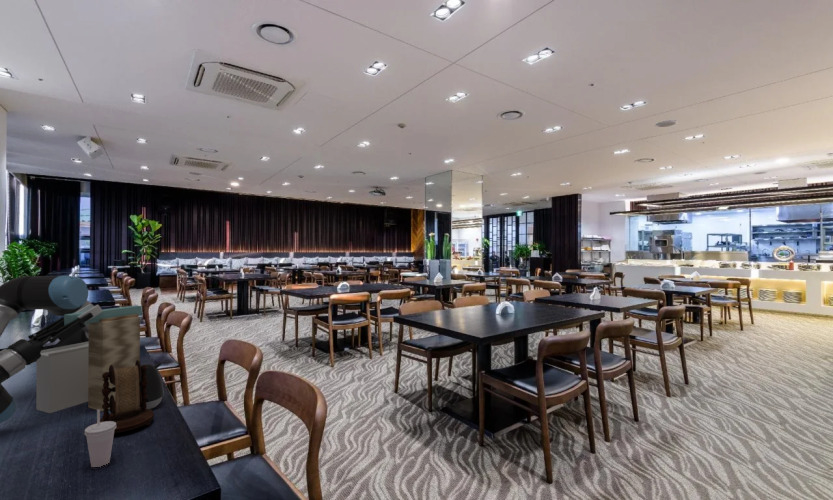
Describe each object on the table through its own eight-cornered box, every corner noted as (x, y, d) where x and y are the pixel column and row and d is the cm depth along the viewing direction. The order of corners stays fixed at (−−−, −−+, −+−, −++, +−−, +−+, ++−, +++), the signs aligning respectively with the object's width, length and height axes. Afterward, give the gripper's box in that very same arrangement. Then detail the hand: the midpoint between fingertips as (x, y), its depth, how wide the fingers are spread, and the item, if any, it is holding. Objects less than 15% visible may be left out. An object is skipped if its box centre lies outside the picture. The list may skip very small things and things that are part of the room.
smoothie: (96, 457, 102) (96, 404, 102) (122, 456, 103) (122, 404, 103) (77, 471, 96) (77, 415, 96) (104, 470, 97) (105, 414, 96)
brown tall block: (102, 411, 131) (102, 319, 130) (88, 407, 134) (88, 317, 133) (139, 398, 142) (140, 314, 141) (125, 395, 145) (126, 312, 145)
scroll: (100, 444, 109) (100, 373, 109) (89, 427, 119) (89, 362, 119) (160, 426, 121) (160, 362, 121) (146, 412, 130) (146, 353, 130)
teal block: (70, 326, 124) (70, 315, 124) (64, 325, 125) (64, 314, 125) (141, 315, 144) (141, 305, 144) (135, 314, 146) (135, 305, 146)
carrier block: (49, 413, 129) (49, 354, 128) (36, 409, 132) (36, 351, 132) (103, 396, 143) (104, 343, 143) (90, 393, 146) (91, 340, 146)
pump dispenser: (171, 404, 137) (171, 361, 137) (141, 416, 127) (142, 370, 127) (150, 400, 141) (150, 358, 141) (120, 411, 131) (120, 366, 131)
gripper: (23, 350, 108) (105, 300, 127) (-7, 344, 115) (75, 297, 134) (40, 370, 112) (117, 318, 131) (10, 362, 118) (88, 314, 137)
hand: (96, 307), depth 132 cm, fingers closed on teal block, 3 cm apart
